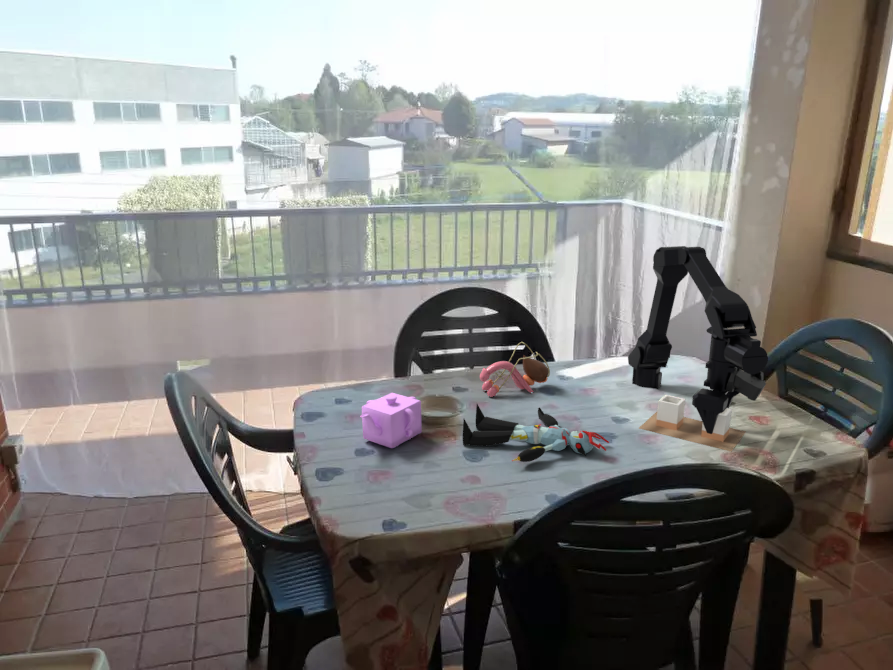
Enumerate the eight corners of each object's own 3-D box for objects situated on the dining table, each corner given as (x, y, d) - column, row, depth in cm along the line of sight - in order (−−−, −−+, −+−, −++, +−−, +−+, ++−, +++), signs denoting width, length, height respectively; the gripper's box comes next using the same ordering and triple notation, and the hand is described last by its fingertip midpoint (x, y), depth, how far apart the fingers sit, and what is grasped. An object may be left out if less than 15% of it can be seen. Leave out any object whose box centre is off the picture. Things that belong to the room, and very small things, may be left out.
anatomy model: (465, 375, 177) (505, 326, 176) (505, 406, 183) (543, 359, 182) (479, 390, 167) (521, 338, 166) (520, 422, 173) (561, 372, 172)
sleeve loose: (723, 441, 143) (726, 415, 141) (701, 436, 145) (703, 410, 144) (729, 434, 146) (731, 408, 144) (707, 429, 149) (710, 404, 147)
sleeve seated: (656, 425, 151) (658, 400, 149) (663, 418, 155) (665, 394, 153) (676, 430, 148) (678, 405, 147) (683, 423, 152) (685, 398, 150)
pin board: (638, 433, 150) (639, 413, 149) (657, 415, 159) (658, 397, 158) (730, 456, 139) (733, 436, 137) (745, 436, 148) (747, 416, 146)
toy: (488, 389, 160) (616, 398, 149) (489, 419, 163) (616, 430, 152) (450, 432, 137) (598, 447, 126) (452, 466, 140) (598, 484, 129)
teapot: (384, 463, 138) (382, 418, 135) (337, 445, 146) (334, 403, 143) (437, 433, 152) (437, 391, 149) (392, 418, 160) (390, 379, 157)
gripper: (753, 378, 129) (743, 451, 133) (774, 353, 143) (765, 420, 148) (694, 367, 135) (687, 437, 140) (721, 344, 150) (713, 409, 154)
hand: (715, 426), depth 145 cm, fingers open, 9 cm apart
